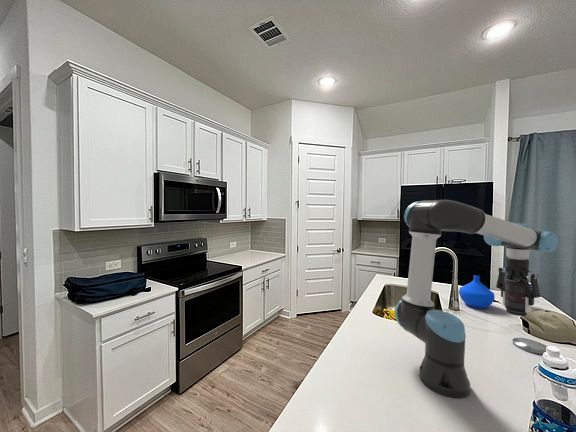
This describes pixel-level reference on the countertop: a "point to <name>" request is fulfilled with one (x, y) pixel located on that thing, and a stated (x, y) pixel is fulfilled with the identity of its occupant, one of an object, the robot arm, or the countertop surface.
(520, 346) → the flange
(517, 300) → the camera lens
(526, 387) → the countertop surface
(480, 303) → the vase
